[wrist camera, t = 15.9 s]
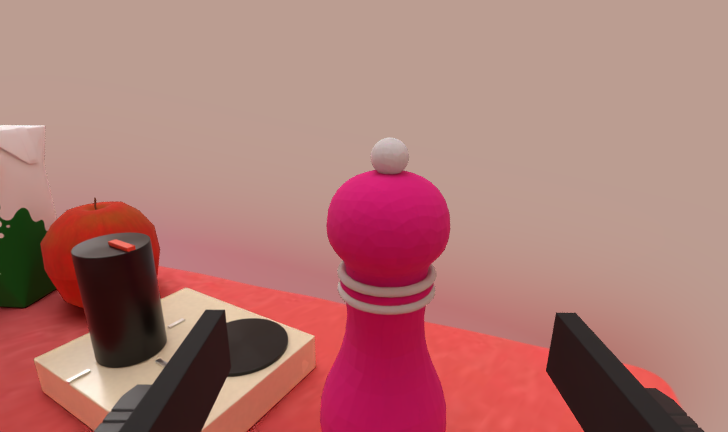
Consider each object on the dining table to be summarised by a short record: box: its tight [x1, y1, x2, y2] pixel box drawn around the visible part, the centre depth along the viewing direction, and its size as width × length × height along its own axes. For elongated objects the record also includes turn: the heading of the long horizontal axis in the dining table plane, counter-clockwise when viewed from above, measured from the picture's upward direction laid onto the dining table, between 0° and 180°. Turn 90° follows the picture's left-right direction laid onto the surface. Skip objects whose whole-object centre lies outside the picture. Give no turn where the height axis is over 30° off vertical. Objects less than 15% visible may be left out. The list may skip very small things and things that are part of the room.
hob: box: [34, 288, 316, 432], centre depth 32 cm, size 16×13×3 cm
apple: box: [40, 198, 160, 308], centre depth 42 cm, size 10×10×12 cm
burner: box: [227, 318, 288, 377], centre depth 31 cm, size 7×7×1 cm
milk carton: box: [0, 125, 57, 308], centre depth 43 cm, size 9×9×20 cm
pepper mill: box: [320, 138, 450, 432], centre depth 22 cm, size 7×7×20 cm
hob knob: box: [71, 232, 167, 368], centre depth 30 cm, size 5×5×9 cm
